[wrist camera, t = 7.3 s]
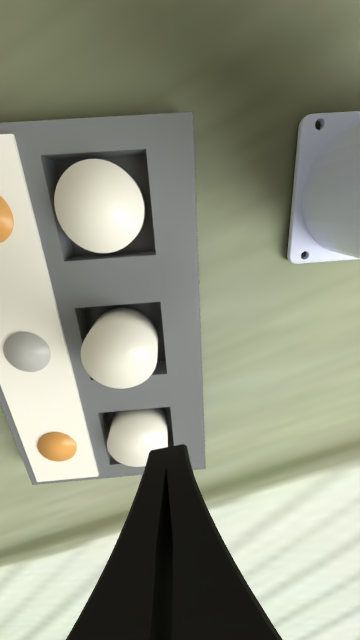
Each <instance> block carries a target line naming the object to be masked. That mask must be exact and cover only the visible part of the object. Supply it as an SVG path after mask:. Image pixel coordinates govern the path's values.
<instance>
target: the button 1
mask: <svg viewBox="0 0 360 640" xmlns="http://www.w3.org/2000/svg"><path fill="white" fill-rule="evenodd" d="M54 206H55V212H56V216H57V219H58V221H59V224H60V225H61V227H62V229H63V230H64V232H65V233H66V235H67V236H68V237H69V238H70V239H71V240H72V241H73V242H74V243H76V244H77V245H79V246H80V247H82V248H84V249H86V250H89V251H92V252H96V253H111V252H115V251H118V250H120V249H122V248H124V247H126V246H127V245H128V244H129V243H131V242H132V241H133V240H134V239H135V237H136V236H137V235H138V234H139V233H140V231H141V229H142V227H143V225H144V222H145V217H146V204H145V199H144V196H143V193H142V191H141V189H140V187H139V186H138V184H137V183H136V182H135V181H134V179H133V178H132V177H131V176H130V175H128V174H127V173H126V172H125V171H124V170H123V169H122V168H120V167H119V166H117V165H116V164H113V163H111V162H109V161H106V160H101V159H86V160H82V161H79V162H77V163H75V164H73V165H72V166H70V167H69V168H68V169H67V170H66V171H65V172H64V173H63V174H62V176H61V177H60V179H59V181H58V183H57V186H56V190H55V196H54Z"/></svg>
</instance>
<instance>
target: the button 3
mask: <svg viewBox="0 0 360 640" xmlns="http://www.w3.org/2000/svg"><path fill="white" fill-rule="evenodd" d="M165 447H168V428H167V415H166V413H165V411H164V410H163V408H162V407H161V408H150V409H138V410H127V411H115V413H114V416H113V420H112V424H111V428H110V432H109V436H108V441H107V448H108V451H109V453H110V455H111V456H112V457H113V458H114V459H115V460H116V461H118V462H119V463H122V464H124V465H127V466H132V467H143V466H146V462H147V459H148V455H149V452H150V451H151V450H155V449H160V448H165Z"/></svg>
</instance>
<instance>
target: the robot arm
mask: <svg viewBox="0 0 360 640" xmlns="http://www.w3.org/2000/svg"><path fill="white" fill-rule="evenodd" d="M316 121H319V122H320V123H321V127H320V129H319V130H317V129H316V128H315V123H316ZM304 251H305V252H306V256H305V257H304V258H301V254H302V253H303V252H304ZM287 258H288V260H289V261H290V262H291V263H295V264H298V263H312V262H326V261H340V260H353V259H360V111H351V112H333V113H316V114H309V115H307V116H305V117H304V118H303V119H302V120H301V122H300V124H299V129H298V140H297V151H296V163H295V174H294V185H293V196H292V208H291V219H290V230H289V241H288V253H287ZM66 640H282V638H281V637H280V635H279V634H278V632H277V631H276V629H275V628H274V626H273V624H272V623H271V621H270V620H269V618H268V616H267V615H266V613H265V612H264V610H263V608H262V607H261V605H260V604H259V602H258V600H257V599H256V597H255V595H254V594H253V592H252V591H251V589H250V587H249V586H248V584H247V582H246V581H245V579H244V577H243V575H242V574H241V572H240V570H239V569H238V567H237V565H236V563H235V562H234V560H233V558H232V556H231V554H230V552H229V551H228V549H227V547H226V545H225V543H224V541H223V539H222V537H221V536H220V534H219V532H218V530H217V528H216V526H215V523H214V521H213V519H212V517H211V515H210V513H209V511H208V509H207V507H206V504H205V502H204V500H203V497H202V495H201V492H200V490H199V488H198V485H197V483H196V480H195V477H194V474H193V470H192V466H191V462H190V457H189V453H188V449H187V446H186V445H184V444H181V445H176V446H171V447H165V448H160V449H155V450H151V451H150V452H149V455H148V459H147V462H146V466H145V469H144V472H143V476H142V479H141V482H140V485H139V488H138V490H137V493H136V496H135V498H134V501H133V504H132V506H131V509H130V512H129V514H128V517H127V519H126V522H125V524H124V526H123V529H122V531H121V533H120V536H119V538H118V540H117V543H116V545H115V547H114V549H113V551H112V554H111V556H110V558H109V560H108V562H107V564H106V566H105V568H104V570H103V572H102V574H101V576H100V578H99V580H98V582H97V584H96V586H95V588H94V590H93V592H92V594H91V596H90V597H89V599H88V601H87V603H86V605H85V607H84V609H83V610H82V612H81V614H80V616H79V618H78V620H77V621H76V623H75V625H74V627H73V628H72V630H71V632H70V634H69V635H68V637H67V639H66Z"/></svg>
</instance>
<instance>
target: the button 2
mask: <svg viewBox="0 0 360 640" xmlns="http://www.w3.org/2000/svg"><path fill="white" fill-rule="evenodd" d="M157 355H158V333H157V330H156V327H155V325H154V324H153V322H152V321H151V320H150V319H149V318H148V317H147V316H146V315H145V314H143V313H141V312H139V311H137V310H134V309H131V308H115V309H111V310H109V311H107V312H105V313H103V314H102V315H101V316H100V317H99V318H98V319H97V320H96V321H95V323H94V325H93V326H92V328H91V329H90V331H89V333H88V334H87V336H86V338H85V339H84V341H83V344H82V347H81V361H82V364H83V366H84V368H85V370H86V372H87V373H88V374H89V375H90V376H91V377H92V378H93V379H94V380H95V381H97V382H99V383H100V384H102V385H105V386H108V387H111V388H119V389H123V388H131V387H134V386H137V385H139V384H141V383H143V382H144V381H146V380H147V379H148V378H149V377H150V376H151V374H152V373H153V371H154V369H155V367H156V364H157Z"/></svg>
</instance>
